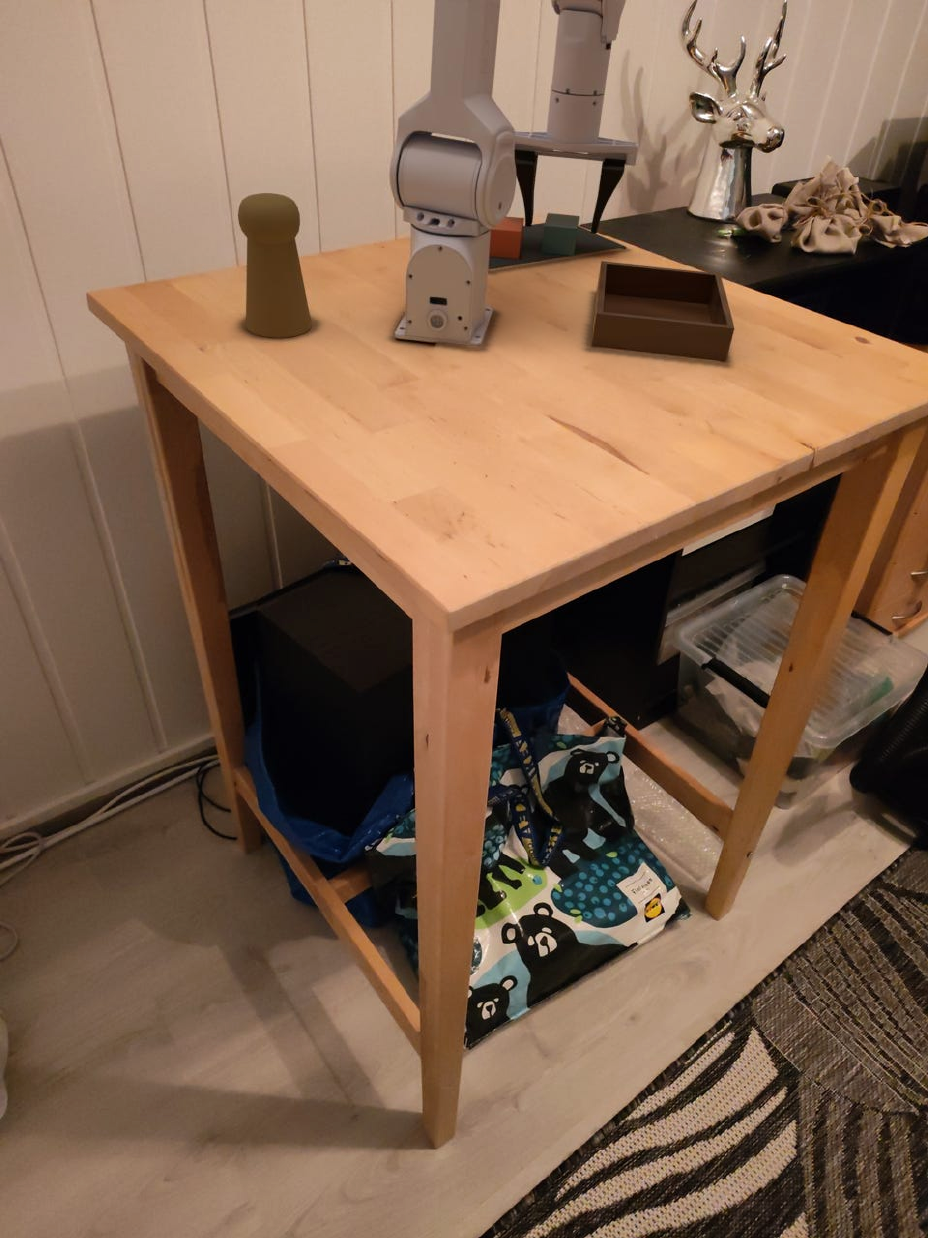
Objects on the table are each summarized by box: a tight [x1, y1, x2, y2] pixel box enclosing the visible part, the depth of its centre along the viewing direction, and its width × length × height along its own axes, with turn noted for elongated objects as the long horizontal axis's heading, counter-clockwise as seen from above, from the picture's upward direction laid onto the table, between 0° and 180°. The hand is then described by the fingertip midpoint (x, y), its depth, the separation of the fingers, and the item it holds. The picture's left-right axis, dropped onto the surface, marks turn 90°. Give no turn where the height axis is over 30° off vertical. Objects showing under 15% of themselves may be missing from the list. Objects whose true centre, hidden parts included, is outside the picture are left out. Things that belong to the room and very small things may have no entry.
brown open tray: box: [590, 260, 735, 362], centre depth 81 cm, size 15×12×3 cm
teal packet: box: [541, 212, 581, 257], centre depth 98 cm, size 6×4×3 cm
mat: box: [488, 222, 627, 270], centre depth 100 cm, size 12×20×1 cm, turn 123°
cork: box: [237, 192, 313, 339], centre depth 74 cm, size 6×6×11 cm
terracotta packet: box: [489, 216, 525, 259], centre depth 96 cm, size 6×4×3 cm
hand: (561, 227), depth 97 cm, fingers open, 7 cm apart
